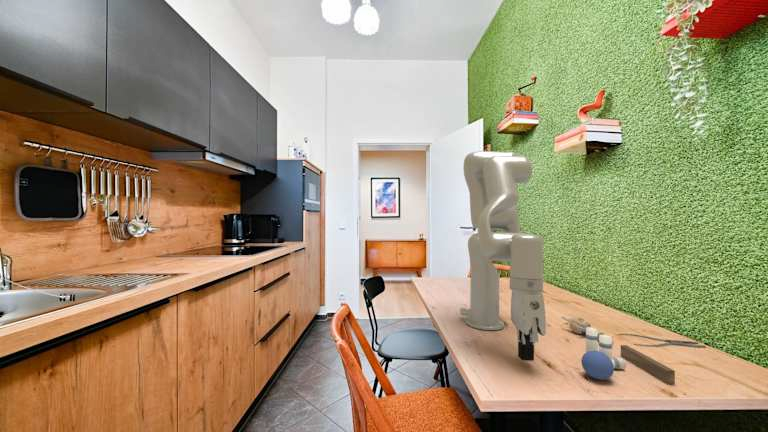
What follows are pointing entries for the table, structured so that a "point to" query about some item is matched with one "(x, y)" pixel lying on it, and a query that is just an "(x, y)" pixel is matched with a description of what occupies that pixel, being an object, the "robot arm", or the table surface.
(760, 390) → the table surface
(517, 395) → the table surface
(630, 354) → the bar
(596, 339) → the pin back left
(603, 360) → the ball
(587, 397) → the table surface
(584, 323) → the toy
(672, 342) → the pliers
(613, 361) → the pin front
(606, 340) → the pin back right
